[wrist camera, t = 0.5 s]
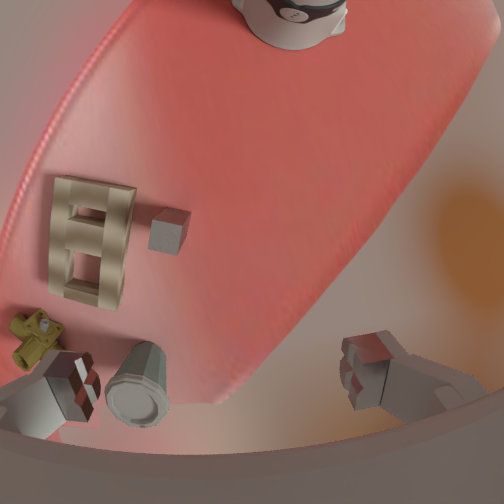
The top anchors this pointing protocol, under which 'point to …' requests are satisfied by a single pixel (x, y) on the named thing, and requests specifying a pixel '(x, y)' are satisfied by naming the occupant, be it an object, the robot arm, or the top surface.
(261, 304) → the top surface
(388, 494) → the robot arm
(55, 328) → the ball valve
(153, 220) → the square bit
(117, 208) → the tan flat slatted block
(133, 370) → the disposable coffee cup
